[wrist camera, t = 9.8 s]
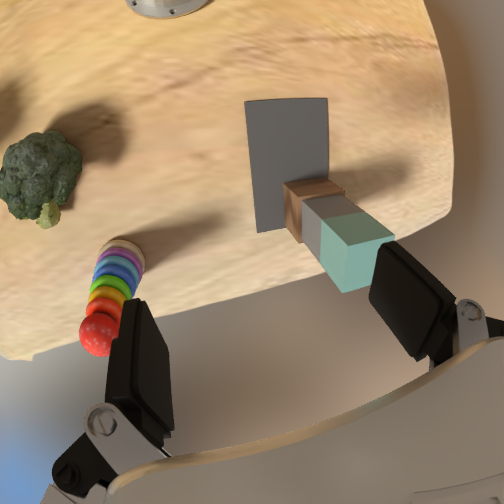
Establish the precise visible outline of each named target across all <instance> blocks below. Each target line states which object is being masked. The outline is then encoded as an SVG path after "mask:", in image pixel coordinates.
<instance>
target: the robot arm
mask: <svg viewBox="0 0 504 504" xmlns="http://www.w3.org/2000/svg"><path fill="white" fill-rule="evenodd" d="M125 1H126V3H127V5H128V6H129V7H130V8H131V9H132V10H133V11H134V12H136V13H137V14H139V15H141V16H144V17H147V18H153V19H170V18H177V17H180V16H184V15H187V14H189V13H191V12H194V11H195V10H197V9H199V8H201V7H202V6H203V5H204V4H206V3H207V2H208V1H209V0H125ZM134 4H137V5H135V6H134ZM172 12H175V13H174V14H171V13H172ZM455 300H456V297H455V296H454V295H453V294H452V293H451V292H450V291H449V290H448V289H447V288H446V287H445V286H444V285H443V284H442V283H441V282H440V281H439V280H438V279H437V278H436V277H435V276H434V275H432V274H431V273H430V272H429V271H428V270H427V269H426V268H425V267H424V266H423V265H422V264H421V263H420V262H418V261H417V260H416V259H415V258H414V257H413V256H412V255H411V254H410V253H409V252H407V251H406V250H405V249H404V248H403V247H402V246H401V245H399V244H398V243H397V242H396V241H389V242H385V243H382V244H381V246H380V248H379V249H378V252H377V257H376V263H375V268H374V273H373V278H372V282H371V288H370V292H369V301H370V303H371V304H372V306H373V307H374V308H375V310H376V311H377V312H378V314H379V315H380V316H381V317H382V319H383V320H384V321H385V323H386V324H387V325H388V327H389V328H390V329H391V331H392V332H393V333H394V335H395V336H396V337H397V339H398V340H399V342H400V343H401V344H402V346H403V347H404V348H405V350H406V351H407V353H408V354H409V355H410V356H411V357H414V359H415V360H416V361H417V362H418V361H420V360H421V359H423V358H425V357H426V356H427V355H428V356H429V357H430V362H429V372H427V373H425V374H424V375H422V376H420V377H418V378H417V379H415V380H413V381H411V382H409V383H407V384H406V385H404V386H402V387H400V388H398V389H396V390H394V391H392V392H390V393H388V394H386V395H384V396H382V397H380V398H378V399H376V400H373V401H371V402H369V403H367V404H365V405H362V406H361V407H358V408H355V409H353V410H351V411H348V412H346V413H343V414H341V415H338V416H336V417H333V418H330V419H328V420H325V421H322V422H319V423H316V424H313V425H311V426H308V427H305V428H301V429H298V430H295V431H292V432H289V433H285V434H281V435H278V436H274V437H271V438H267V439H263V440H259V441H254V442H250V443H246V444H241V445H236V446H232V447H227V448H222V449H217V450H211V451H204V452H198V453H192V454H186V455H180V456H174V457H172V456H171V455H170V454H169V453H168V452H167V451H165V449H163V448H162V447H163V446H164V441H163V439H164V438H171V432H170V431H173V430H174V419H173V408H172V395H171V381H170V363H169V351H168V347H167V345H166V343H165V341H164V339H163V337H162V335H161V333H160V331H159V329H158V327H157V325H156V323H155V321H154V318H153V316H152V314H151V312H150V310H149V308H148V305H147V303H146V302H145V301H141V300H140V299H139V298H135V299H130V300H125V301H124V303H123V308H122V314H121V320H120V326H119V333H118V338H114V339H113V340H112V343H111V349H110V356H109V364H108V373H107V382H106V392H105V403H98V404H96V405H94V406H92V407H91V408H90V409H89V410H88V411H87V413H86V415H85V417H84V423H83V424H84V430H85V433H84V434H83V435H82V436H81V437H79V438H78V439H77V441H75V442H74V444H72V445H71V447H69V448H68V449H67V450H66V451H65V452H64V453H63V454H62V455H61V456H60V457H59V458H58V459H57V460H56V462H55V463H54V465H53V468H52V477H53V480H54V483H53V485H51V484H49V486H48V488H47V490H46V492H45V495H44V497H43V499H42V501H41V503H40V504H504V321H502V320H498V319H494V318H490V317H486V316H485V313H484V310H483V309H482V307H481V306H480V305H479V304H478V303H477V302H475V301H473V300H470V299H463V300H460V301H459V302H458V304H457V305H456V304H455V303H454V302H455Z"/></svg>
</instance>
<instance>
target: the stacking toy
mask: <svg viewBox="0 0 504 504" xmlns="http://www.w3.org/2000/svg"><path fill="white" fill-rule="evenodd" d="M144 270H145V259H144V256H143V254H142V252H141V251H140V249H139V248H138V247H137V246H136V245H134V244H133V243H131V242H129V241H125V240H112V241H110V242H108V243H106V244H105V245H104V246H103V247H102V248H101V250H100V252H99V254H98V260H97V263H96V267H95V270H94V276H93V280H92V285H91V288H90V296H89V300H88V303H89V304H88V305H87V308H86V316H87V317H86V318H85V319H84V320H83V322H82V323H81V326H80V329H79V337H80V341H81V343H82V345H83V347H84V348H85V349H86V350H87V351H88V352H89V353H91V354H93V355H95V356H100V357H103V356H108V355H110V349H111V343H112V340H113V339H114V338H118V333H119V326H120V320H121V314H122V308H123V303H124V301H125V300H130V299H132V298H133V296H134V294H135V291H136V289H137V287H138V284H139V283H140V281H141V279H142V275H143V273H144Z"/></svg>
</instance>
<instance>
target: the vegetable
mask: <svg viewBox="0 0 504 504" xmlns="http://www.w3.org/2000/svg"><path fill="white" fill-rule="evenodd" d="M81 171H82V157H81V154H80V152H79V149H77V148H75V147H74V146H73V145H70V144H68V143H67V142H66V138H65V137H64V136H63V135H62V134H61V133H59V132H57V131H55V130H51V131H47V132H45V133H43V134H41V133H38V132H36V133H31V134H29V135H28V136H27V137H25V138H24V139H23V140H20V141H19V142H18V143H15V144H13V145H10V146H9V147H8V148H7V150H6V152H5V154H4V157H3V166H2V168H1V170H0V198H1V199H2V200H4V201H5V202H6V203H7V205H8V209H9V212H11V213H12V214H13V215H14V216H15V217H16V219H18V218H19V219H20V220H21V219H29V218H30V219H32V220H34V219H37V221H36V223H37V224H39V225H40V227H41V228H43V229H47V228H50V227H53V226H55V225H57V223H58V222H59V221H60V216H61V212H60V210H59V208H58V205H64V204H65V203H66V202H67V200H68V197H69V195H70V194H71V192H72V191H73V189H74V188H75V186H76V182H77V181H76V175H78V174H79V173H80V172H81Z"/></svg>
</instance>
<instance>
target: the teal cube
mask: <svg viewBox="0 0 504 504" xmlns="http://www.w3.org/2000/svg"><path fill="white" fill-rule="evenodd" d="M394 238H395V235H394V234H393V233H392V232H391V231H389V230H388V229H387V228H386V227H384V226H383V225H382V224H381V223H379V222H378V221H377V220H376V219H374V218H373V217H372V216H370V215H369V214H368V213H366V212H360V213H354V214H349V215H343V216H338V217H332V218H327V219H322V220H321V249H320V264H321V265H322V267H323V268H324V269H325V271H326V272H327V273H328V275H329V276H330V277H331V278H332V280H333V281H334V283H335V284H336V285H337V287H338V288H339V289H340V291H341V292H342V293H345V292H348V291H352V290H355V289H358V288H361V287H365V286H368V285H371V282H372V278H373V273H374V268H375V263H376V257H377V252H378V249H379V248H380V246H381V244H382V243H385V242H389V241H394Z"/></svg>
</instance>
